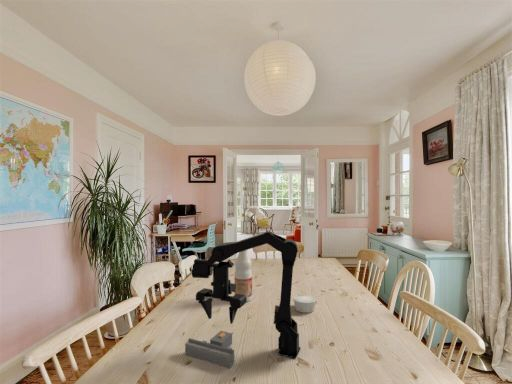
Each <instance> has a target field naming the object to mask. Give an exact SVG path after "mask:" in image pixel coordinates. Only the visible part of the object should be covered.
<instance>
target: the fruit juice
mask: <svg viewBox="0 0 512 384" xmlns="http://www.w3.org/2000/svg"><path fill="white" fill-rule="evenodd" d="M252 264H253V263H252V259H251V258H250V256H249V254H248V250H245V251H242V252H238V255H237V257H236V259H235V261H234V268H235V270H234V284H236V290H235V292H234V295H235V294H242V295H245V296H246V298H247V302H246V303H248V302H250V301H252V298H253V272H252Z"/></svg>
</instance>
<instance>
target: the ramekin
mask: <svg viewBox="0 0 512 384" xmlns="http://www.w3.org/2000/svg"><path fill="white" fill-rule="evenodd" d="M292 299H293V305H294V309H295V310H296V311H298V312H300V313H305V314H309V313H313V311H315V309H316V303H317V298H316V297H315V296H313V295H310V294H296V295H294V296H293V298H292Z"/></svg>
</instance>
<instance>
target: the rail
mask: <svg viewBox="0 0 512 384" xmlns="http://www.w3.org/2000/svg"><path fill="white" fill-rule="evenodd" d="M184 345H185V346H184V347H185V349H184V355H185V356H188V357H190V358H194V359H198V360H200V361H201V360H202V361H205V362H208V363H211V364H215V365H218V366H222V367H225V368H227V369H231V368H232V367H233V366H234V365H235V349H233V347H231V346H229V347H227V348H225V347H221V346H218V345H214V344H210V342H207V340H204V339H203V340H202V341H201V340H198V339H193V338H190V337H189V338H188V339H187V342H185V343H184Z"/></svg>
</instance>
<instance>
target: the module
mask: <svg viewBox="0 0 512 384" xmlns="http://www.w3.org/2000/svg"><path fill="white" fill-rule="evenodd" d="M209 343H210V344H214V345H218V346H221V347H225V348H227V347H231V345H233V333H232V332H226V331H224V330H220V331H219V332H217V333H216V334H215V335H214V336H213V337H212V338H210V339H209Z"/></svg>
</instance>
